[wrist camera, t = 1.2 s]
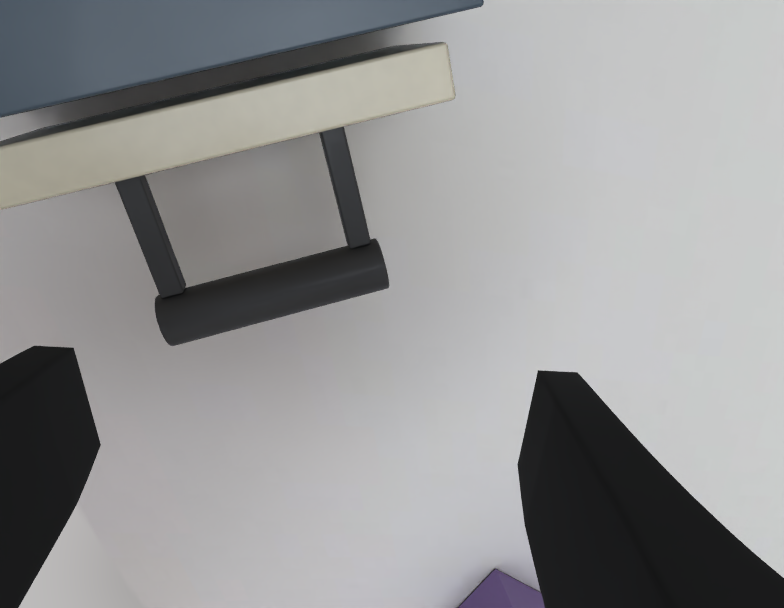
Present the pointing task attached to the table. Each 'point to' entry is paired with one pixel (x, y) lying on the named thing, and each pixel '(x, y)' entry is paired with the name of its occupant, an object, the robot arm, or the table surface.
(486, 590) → the block
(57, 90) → the cabinet
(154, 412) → the table surface
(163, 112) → the drawer
